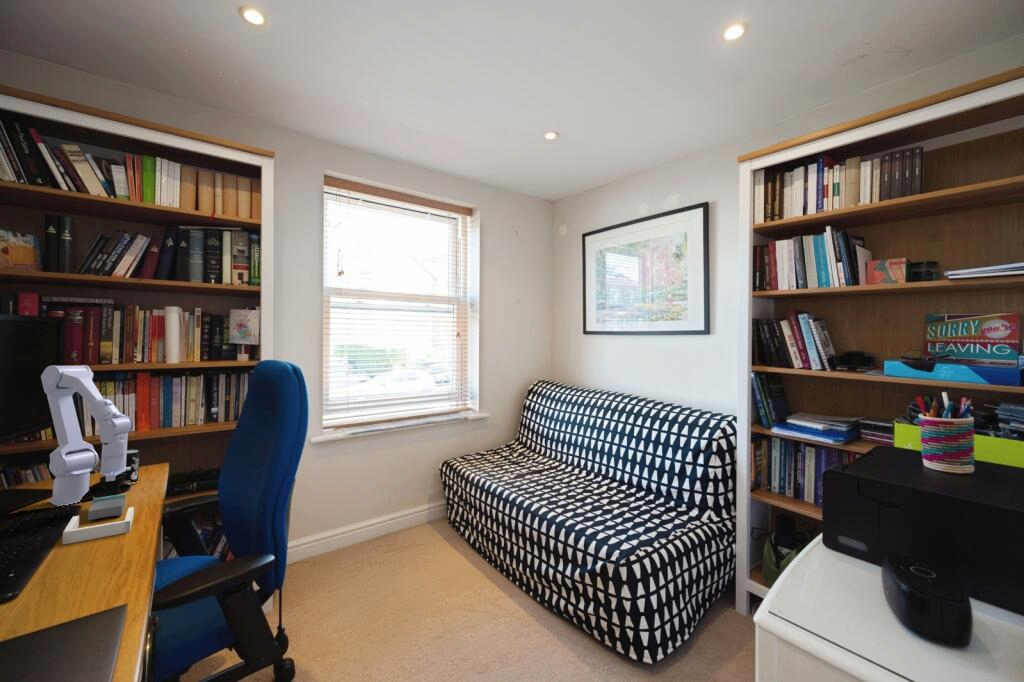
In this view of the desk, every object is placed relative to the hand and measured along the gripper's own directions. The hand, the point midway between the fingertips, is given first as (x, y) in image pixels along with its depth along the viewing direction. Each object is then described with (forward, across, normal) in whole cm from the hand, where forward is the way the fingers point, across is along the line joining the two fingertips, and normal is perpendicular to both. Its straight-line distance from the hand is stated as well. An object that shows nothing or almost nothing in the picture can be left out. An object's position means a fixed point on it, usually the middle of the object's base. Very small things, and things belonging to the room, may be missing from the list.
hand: (111, 498), depth 129 cm
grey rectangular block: (+2, -10, 0) cm, 10 cm away
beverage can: (+2, +24, -2) cm, 24 cm away
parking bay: (+2, -23, 0) cm, 23 cm away
